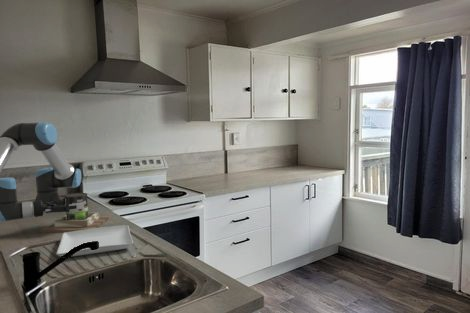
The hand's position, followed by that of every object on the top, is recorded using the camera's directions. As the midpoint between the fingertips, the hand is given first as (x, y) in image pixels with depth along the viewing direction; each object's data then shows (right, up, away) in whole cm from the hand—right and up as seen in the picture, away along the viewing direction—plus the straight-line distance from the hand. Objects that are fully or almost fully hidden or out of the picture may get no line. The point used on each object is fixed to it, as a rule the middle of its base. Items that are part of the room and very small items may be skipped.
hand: (82, 203), depth 179 cm
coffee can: (-2, -10, 0) cm, 10 cm away
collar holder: (-2, -11, 0) cm, 11 cm away
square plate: (+19, -14, -31) cm, 39 cm away
